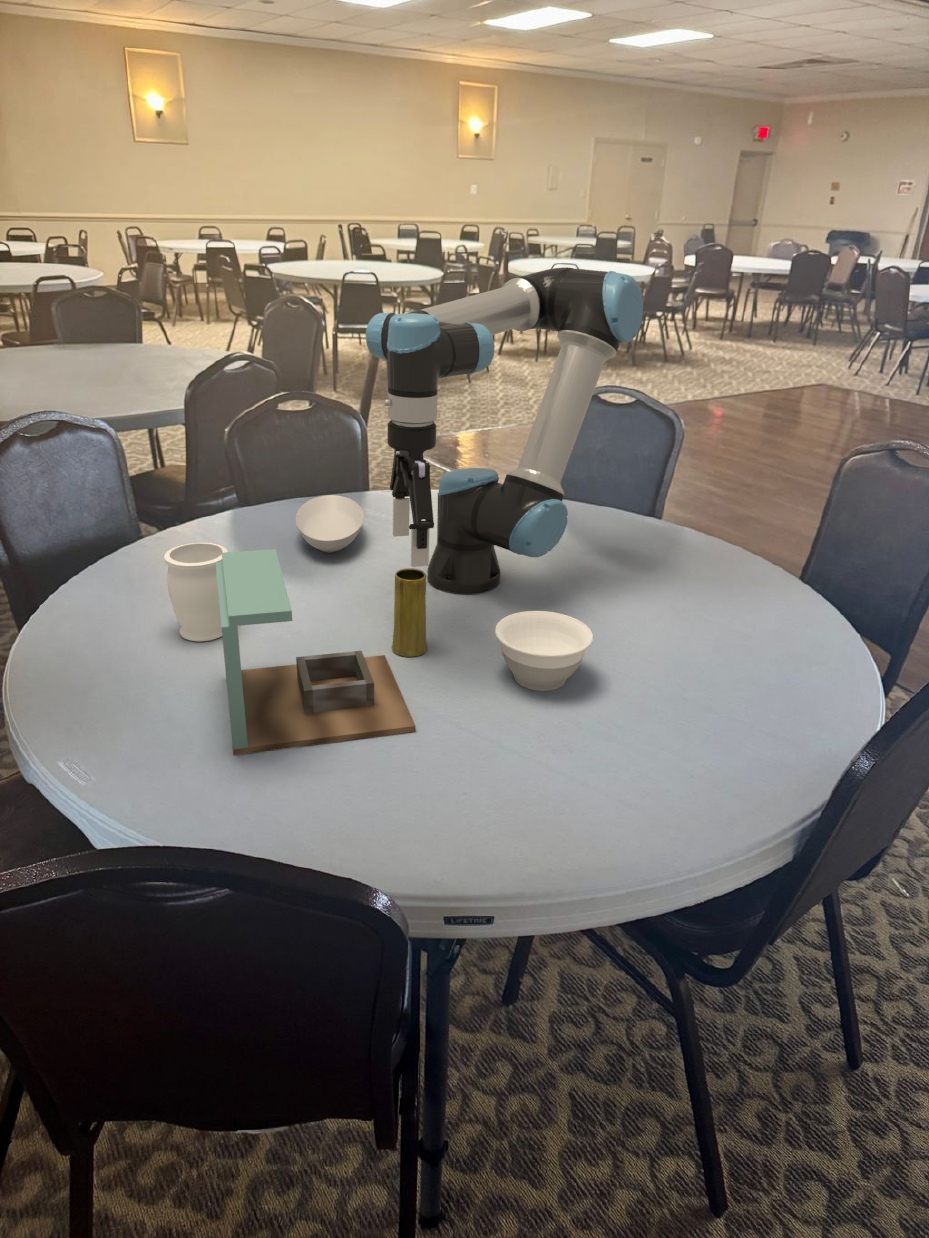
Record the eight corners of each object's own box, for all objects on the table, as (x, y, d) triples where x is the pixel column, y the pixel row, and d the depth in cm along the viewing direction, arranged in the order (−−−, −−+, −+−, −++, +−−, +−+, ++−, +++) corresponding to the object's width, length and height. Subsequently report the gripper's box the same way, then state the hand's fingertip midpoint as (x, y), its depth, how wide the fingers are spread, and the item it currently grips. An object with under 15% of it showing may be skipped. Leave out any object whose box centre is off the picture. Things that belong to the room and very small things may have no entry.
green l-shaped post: (282, 665, 138) (275, 549, 129) (298, 740, 119) (291, 610, 110) (225, 671, 135) (214, 553, 126) (233, 749, 117) (220, 616, 108)
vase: (413, 661, 143) (415, 584, 137) (384, 650, 146) (384, 575, 140) (433, 647, 148) (435, 572, 142) (405, 637, 151) (406, 564, 144)
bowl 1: (364, 567, 179) (364, 540, 176) (292, 567, 177) (291, 540, 174) (363, 519, 205) (363, 495, 203) (301, 519, 203) (300, 494, 201)
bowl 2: (523, 711, 131) (527, 663, 127) (475, 664, 143) (477, 619, 139) (607, 690, 137) (613, 644, 134) (553, 647, 150) (558, 604, 146)
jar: (218, 649, 144) (210, 568, 137) (162, 641, 146) (151, 560, 139) (244, 622, 153) (238, 545, 147) (192, 615, 155) (183, 538, 148)
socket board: (384, 660, 143) (384, 634, 141) (415, 731, 124) (415, 702, 122) (226, 676, 136) (223, 649, 134) (233, 755, 117) (230, 725, 115)
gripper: (372, 403, 139) (373, 525, 148) (406, 442, 118) (404, 581, 127) (416, 403, 141) (414, 522, 150) (457, 441, 120) (452, 578, 129)
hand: (409, 550), depth 139 cm, fingers open, 13 cm apart
